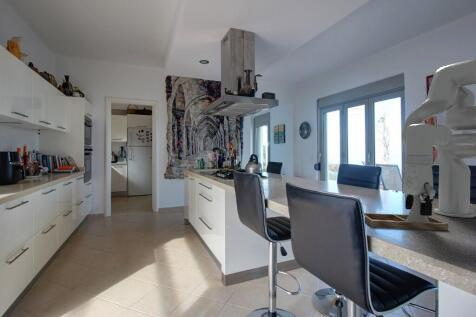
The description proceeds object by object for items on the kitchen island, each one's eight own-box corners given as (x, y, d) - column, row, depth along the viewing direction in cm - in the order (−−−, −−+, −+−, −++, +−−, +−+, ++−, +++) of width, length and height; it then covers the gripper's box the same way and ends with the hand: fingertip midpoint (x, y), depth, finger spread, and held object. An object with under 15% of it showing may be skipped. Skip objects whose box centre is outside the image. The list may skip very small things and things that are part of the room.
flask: (435, 228, 84) (436, 197, 83) (410, 226, 85) (411, 196, 85) (424, 222, 91) (425, 193, 90) (401, 221, 92) (402, 193, 92)
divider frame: (427, 220, 93) (427, 215, 93) (448, 230, 81) (448, 223, 81) (360, 218, 96) (360, 212, 96) (371, 226, 85) (371, 220, 85)
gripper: (395, 160, 96) (394, 206, 97) (420, 161, 79) (419, 217, 80) (417, 161, 95) (416, 207, 96) (447, 162, 78) (446, 219, 78)
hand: (417, 212), depth 88 cm, fingers open, 9 cm apart
